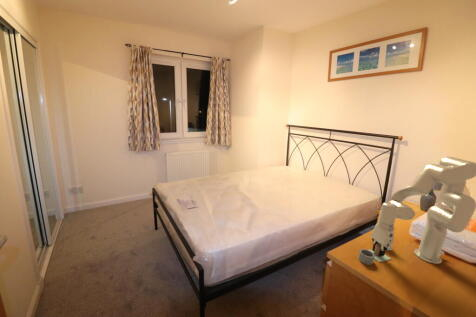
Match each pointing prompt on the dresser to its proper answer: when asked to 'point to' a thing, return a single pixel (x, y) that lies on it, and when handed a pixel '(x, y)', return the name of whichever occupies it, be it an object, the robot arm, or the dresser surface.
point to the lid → (376, 253)
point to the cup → (366, 256)
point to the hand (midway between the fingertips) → (378, 252)
